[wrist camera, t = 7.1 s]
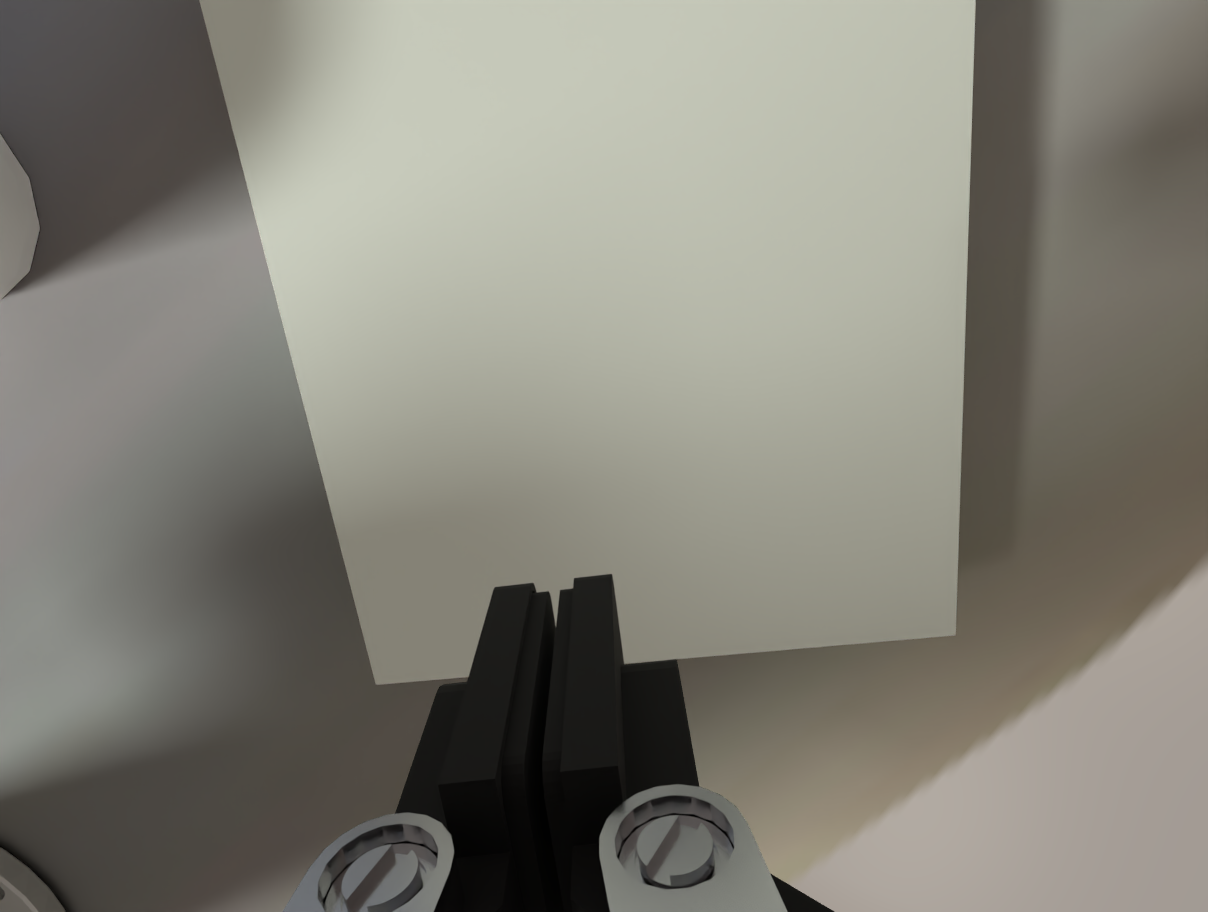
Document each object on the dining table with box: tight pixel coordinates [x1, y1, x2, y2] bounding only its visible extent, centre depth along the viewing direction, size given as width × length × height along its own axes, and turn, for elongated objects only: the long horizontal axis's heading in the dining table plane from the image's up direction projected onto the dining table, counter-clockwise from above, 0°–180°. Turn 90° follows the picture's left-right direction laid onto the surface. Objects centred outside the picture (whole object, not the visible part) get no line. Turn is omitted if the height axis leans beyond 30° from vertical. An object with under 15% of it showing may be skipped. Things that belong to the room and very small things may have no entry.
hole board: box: [199, 0, 976, 685], centre depth 20 cm, size 30×18×3 cm, turn 7°
